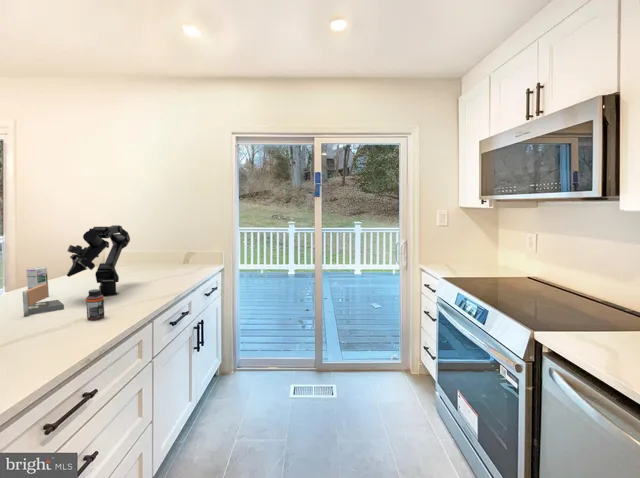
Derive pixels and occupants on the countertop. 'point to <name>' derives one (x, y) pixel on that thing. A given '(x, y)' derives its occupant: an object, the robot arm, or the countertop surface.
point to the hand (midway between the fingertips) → (67, 276)
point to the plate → (40, 306)
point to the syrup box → (36, 276)
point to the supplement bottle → (95, 305)
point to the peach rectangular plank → (37, 293)
